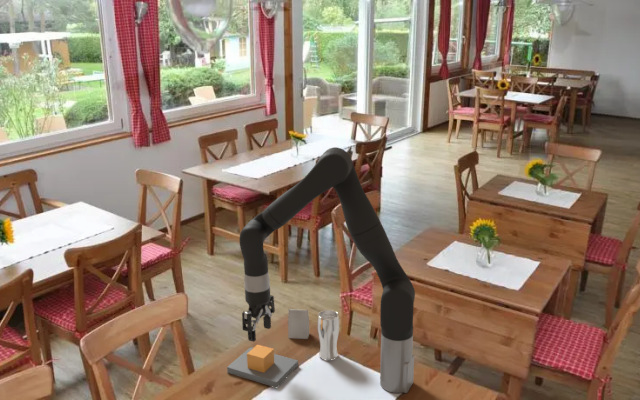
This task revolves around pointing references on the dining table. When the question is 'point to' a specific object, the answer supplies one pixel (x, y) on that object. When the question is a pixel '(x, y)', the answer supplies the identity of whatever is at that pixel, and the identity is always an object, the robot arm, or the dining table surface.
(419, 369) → the dining table surface
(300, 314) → the grey cardboard box
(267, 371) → the board
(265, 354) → the matte orange cube
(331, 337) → the beer glass
